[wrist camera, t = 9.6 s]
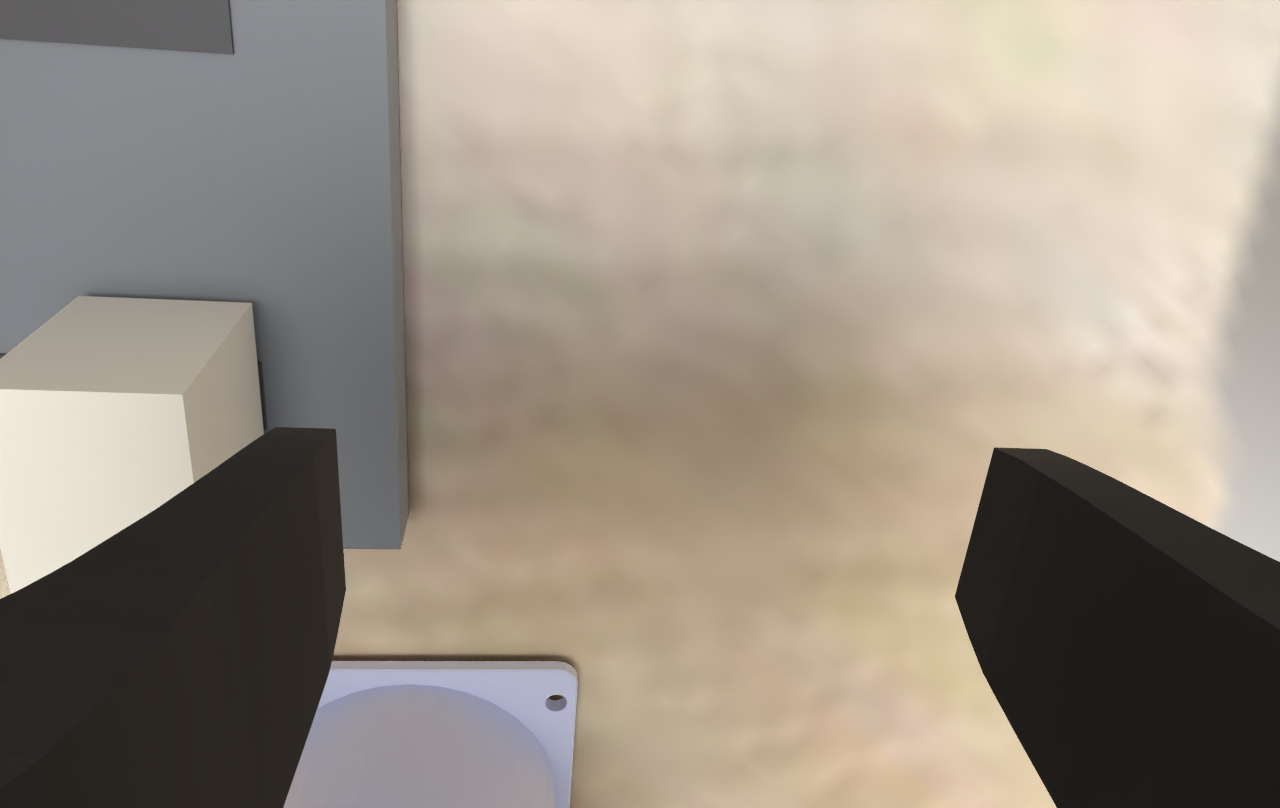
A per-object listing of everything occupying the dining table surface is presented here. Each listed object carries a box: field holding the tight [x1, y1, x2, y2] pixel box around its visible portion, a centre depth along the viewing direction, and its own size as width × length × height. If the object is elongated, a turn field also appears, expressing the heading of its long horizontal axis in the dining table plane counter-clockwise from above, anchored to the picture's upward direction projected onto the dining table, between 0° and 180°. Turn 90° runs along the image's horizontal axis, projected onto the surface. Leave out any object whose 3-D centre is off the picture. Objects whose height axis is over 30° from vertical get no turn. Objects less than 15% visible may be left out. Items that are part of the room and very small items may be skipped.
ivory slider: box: [0, 296, 264, 594], centre depth 17 cm, size 4×3×4 cm
